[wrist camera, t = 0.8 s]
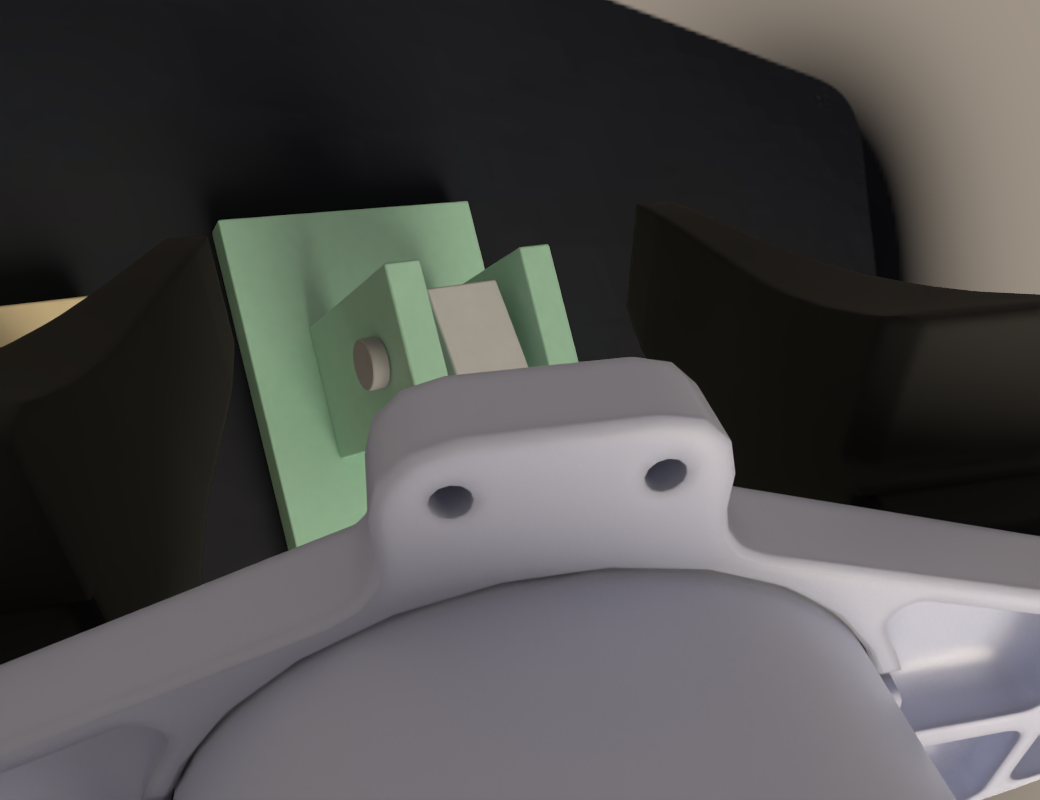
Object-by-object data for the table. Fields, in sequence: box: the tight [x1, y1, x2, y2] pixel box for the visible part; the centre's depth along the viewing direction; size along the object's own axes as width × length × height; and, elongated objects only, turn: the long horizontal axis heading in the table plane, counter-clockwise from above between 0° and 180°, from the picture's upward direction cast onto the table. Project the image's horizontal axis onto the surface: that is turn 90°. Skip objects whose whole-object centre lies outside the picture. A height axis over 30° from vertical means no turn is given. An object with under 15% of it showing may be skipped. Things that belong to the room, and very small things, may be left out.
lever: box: [427, 280, 528, 376], centre depth 22 cm, size 11×6×2 cm, turn 15°
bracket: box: [212, 201, 578, 551], centre depth 25 cm, size 12×9×8 cm
